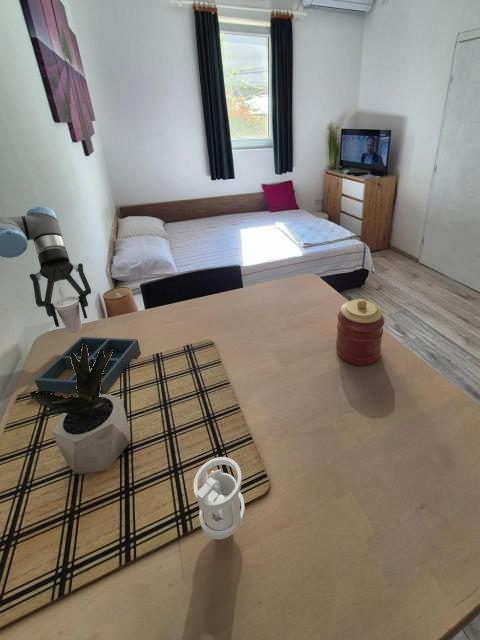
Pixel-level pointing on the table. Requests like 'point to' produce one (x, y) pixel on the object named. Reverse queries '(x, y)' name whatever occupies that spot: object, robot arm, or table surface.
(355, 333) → the kitchen canister
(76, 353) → the divided tray
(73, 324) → the smoothie
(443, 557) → the table surface
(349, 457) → the table surface
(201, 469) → the white cylindrical holder
